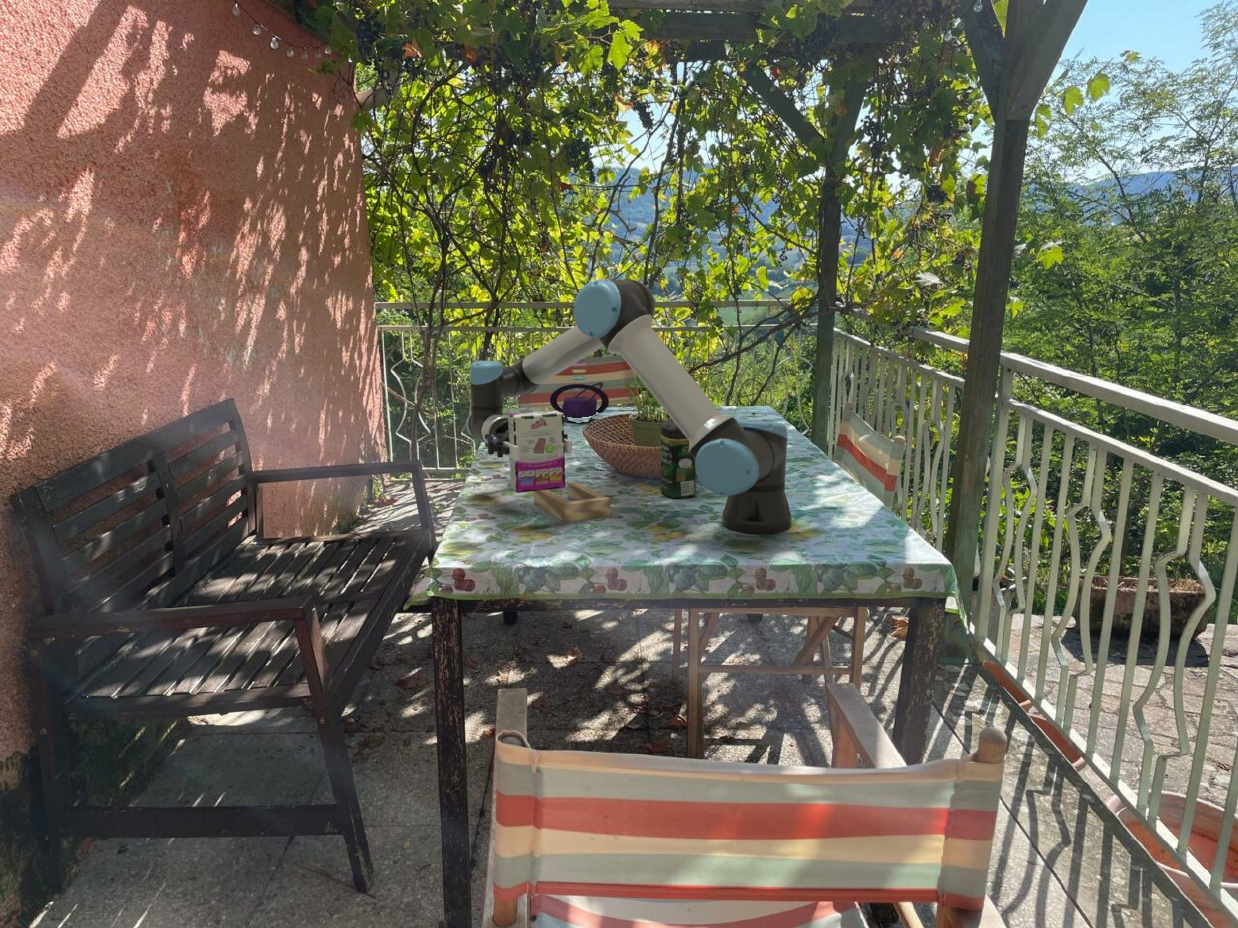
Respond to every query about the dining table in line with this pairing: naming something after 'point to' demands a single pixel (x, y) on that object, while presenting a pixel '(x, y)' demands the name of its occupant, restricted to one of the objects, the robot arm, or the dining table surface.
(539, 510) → the mat
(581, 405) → the purple handbag
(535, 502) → the frame
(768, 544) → the dining table surface
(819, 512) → the dining table surface
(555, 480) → the candy bar box
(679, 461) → the coffee jar
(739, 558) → the dining table surface
